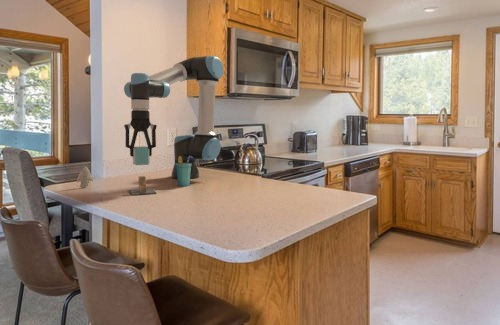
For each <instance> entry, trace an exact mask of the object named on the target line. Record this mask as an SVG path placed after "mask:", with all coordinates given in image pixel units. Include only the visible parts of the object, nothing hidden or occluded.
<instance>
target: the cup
mask: <svg viewBox="0 0 500 325" xmlns="http://www.w3.org/2000/svg"><path fill="white" fill-rule="evenodd" d="M189 158H192V159H194V157H192V156H188V159H187V163H183V161H182V157H181V156H179V157H178V163H177V164H176V167H177V176H178V179H177V184H178V187H189V186H190V183H191V182H190V181H191V179H190V172H191V166H192V164H191V163H188V162H189Z"/></svg>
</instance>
